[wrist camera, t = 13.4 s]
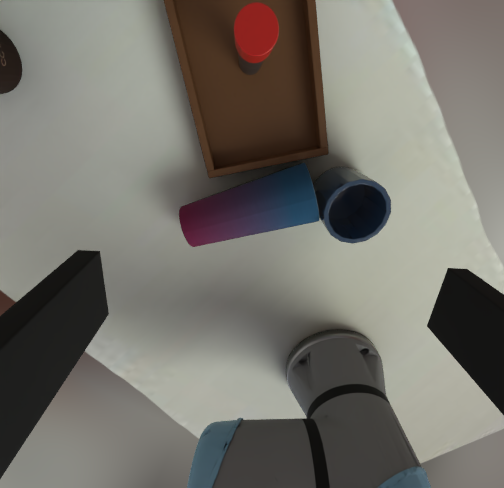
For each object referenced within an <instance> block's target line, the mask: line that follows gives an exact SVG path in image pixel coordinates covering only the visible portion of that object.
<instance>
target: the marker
mask: <svg viewBox="0 0 504 488" xmlns="http://www.w3.org/2000/svg"><path fill="white" fill-rule="evenodd" d="M278 34H279V25H278V20H277V17H276V15H275V13H274V12H273V11H272V9H271V8H270V7H268V6H267V5H265V4H263V3H259V2H254V3H250V4H248V5H246V6H244V7H243V8H242V9H241V10H240V11H239V13H238V15H237V17H236V19H235V23H234V37H235V45H236V49H237V51H238V57H239V66H240V69H241V70H242V71H243V72H244V73H245V74H247V75H253V74H255V73H257V72H258V70H259V69H260V67H261V65H262V63H263V61H264V60H265V59H266V58H267V57H268V56H269V54H270V53H271V51H272V49H273V47H274V45H275V44H276V41H277V39H278Z"/></svg>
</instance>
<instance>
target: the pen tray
mask: <svg viewBox="0 0 504 488" xmlns="http://www.w3.org/2000/svg"><path fill="white" fill-rule="evenodd" d="M254 2H259V3H263V4H265V5H267V6H268V7H270V8H271V9H272V11H273V12H274V13H275V15H276V17H277V20H278V25H279V34H278V39H277V41H276V44H275V45H274V47H273V49H272V51H271V53H270V54H269V56H268V57H267V58H266V59H265V60H264V61H263V63H262V65H261V67H260V69H259V70H258V72H257V73H255V74H253V75H247V74H245V73H244V72H243V71H242V70H241V69H240V66H239V57H238V51H237V49H236V45H235V37H234V23H235V19H236V17H237V15H238V13H239V11H240V10H241V9H242V8H243V7H244V6H246V5H248V4H250V3H254ZM164 3H165V7H166V11H167V15H168V19H169V23H170V27H171V31H172V35H173V39H174V42H175V46H176V50H177V54H178V58H179V62H180V66H181V70H182V74H183V78H184V82H185V86H186V90H187V94H188V98H189V101H190V105H191V109H192V113H193V117H194V121H195V125H196V129H197V133H198V137H199V141H200V145H201V149H202V153H203V156H204V160H205V164H206V168H207V172H208V176H209V178H213V177H218V176H223V175H228V174H233V173H238V172H243V171H248V170H252V169H257V168H262V167H267V166H272V165H277V164H282V163H287V162H292V161H297V160H302V159H307V158H312V157H317V156H322V155H327V154H328V144H327V132H326V120H325V108H324V96H323V84H322V73H321V61H320V49H319V37H318V25H317V13H316V2H315V0H164Z"/></svg>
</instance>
